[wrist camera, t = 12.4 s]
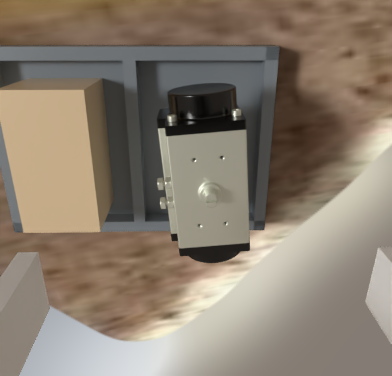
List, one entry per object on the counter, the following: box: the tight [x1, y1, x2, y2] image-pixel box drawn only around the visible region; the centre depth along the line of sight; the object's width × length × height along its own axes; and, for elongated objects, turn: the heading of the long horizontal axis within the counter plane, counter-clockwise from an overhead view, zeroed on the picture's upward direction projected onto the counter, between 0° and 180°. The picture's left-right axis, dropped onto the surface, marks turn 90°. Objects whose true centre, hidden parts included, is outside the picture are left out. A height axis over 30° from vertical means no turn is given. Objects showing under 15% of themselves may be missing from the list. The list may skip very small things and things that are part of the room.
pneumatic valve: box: [157, 83, 250, 263], centre depth 28 cm, size 6×12×12 cm, turn 5°
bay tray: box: [0, 45, 280, 233], centre depth 31 cm, size 16×23×7 cm
